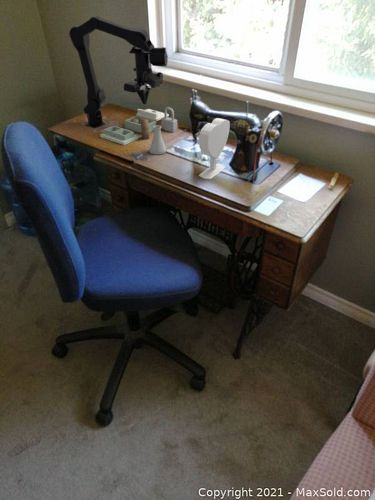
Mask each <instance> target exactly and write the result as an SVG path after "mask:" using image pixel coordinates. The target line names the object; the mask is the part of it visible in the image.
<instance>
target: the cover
mask: <svg viewBox="0 0 375 500" xmlns="http://www.w3.org/2000/svg"><path fill="white" fill-rule="evenodd" d="M169 115H170V114H169V113H167V117H169ZM135 116H139V117H143V118H146V119H150V120H154V121H156V122H158V121H161V118H163V117H164V112H162V111H158V110H154V109H151V108H147V109H142V108H137V113H136V114H135Z"/></svg>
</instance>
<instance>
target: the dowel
mask: <svg viewBox="0 0 375 500" xmlns="http://www.w3.org/2000/svg"><path fill="white" fill-rule="evenodd" d="M140 121H141V133H140V134H141V139H142V140H144V141H147V140H149V139H150V132H149V126H148V118H144V117H143V119H141V120H140Z"/></svg>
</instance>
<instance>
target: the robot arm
mask: <svg viewBox="0 0 375 500" xmlns="http://www.w3.org/2000/svg"><path fill="white" fill-rule="evenodd" d="M95 30H97V31H101V32H103V33H107V34H109V35H111V36H112V35H113V36H115V37H117V38H120V39H123V40H125V41H126V42H127V43H128V44H129V45H131V46H132V47H131V50H129V52H128V53H129V54H134V65H135V66H134V67H132V68H133V72H135V78H134V79H133V80H134V81H128V82H125V83H124V84H123V91H124V92H129V93H136V94H137V95H138V97H139V99H140V100H141V103H142V104H143V105H147V102H148V99H149V95H150V92H151V90H153V89H155V88H158V87H160V86H161V85H162V84H163V82H164V74H163V73H162V72H161V71H160V72H157V73H153V69H152V67H150V65H151V66H153V67H167V66H168V60H169V58H168V52H167V47H155V45H154V43H153V42H152V41H151V40H150V36H149V34H148V31H146V30H145V29H143V28H142V29H141V28H136V27H133V28H132V27H126V26H123V25H121V24H118V23H115V22H112V21H110V20H107V19H105V18H101V17H100V16H97V15H95V16H92V17H90V19H89V20H87V21H85V22H84V23H82V24H77V25H75V26H73V27H71V28H70V30H69V33H68V35H69V36H68V37H69V38H70V40H71V43H72V45H73V47H74V48H75V50H76V51H77V54H78V57H79V60H80V61H79V62H80V64H81V69H82V72H83V76H84V80H85V84H86V87H87V91H86V99H87V100H86V101H87V104H86V105H85V106H84V108H83V112H84V114H85V115H86V117H87V122H86V123H85V125H86V126H88V127H92V128H94V129H95V128H98V127H101V126H104V125H106V123H105V122H104V121H103V116H102V111H101V109H102V107H103V105H104V104H105V102H106V99H107V96H106V94H105V91H104V90H105V89H104V88H100V86H99V84H98V81H97V77H96V73H95V67H94V65H93V60H92V57H91V52H90V42H91V41H90V34H91V33H93V32H95Z"/></svg>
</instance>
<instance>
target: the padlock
mask: <svg viewBox="0 0 375 500" xmlns="http://www.w3.org/2000/svg"><path fill="white" fill-rule="evenodd" d="M163 111H164V112H163V113H164V117H163V118H161V120H160V121H161V122H160V123H161V130H164V131H167V132H169V133H170V132H171V133H175V132H177V131H178V119H176V118H175V111H174V109H173V107H172V108H171V107H169V106H166V107H165V108H164V110H163ZM168 111H170V113H171V117H169V116H168V117H167V114H168Z"/></svg>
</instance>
